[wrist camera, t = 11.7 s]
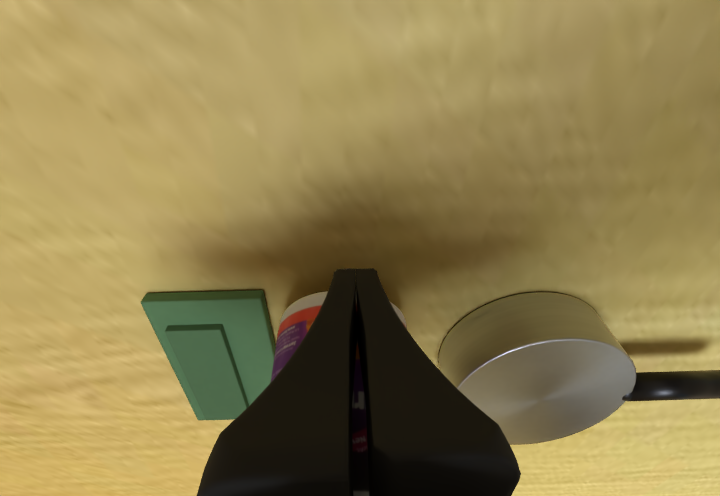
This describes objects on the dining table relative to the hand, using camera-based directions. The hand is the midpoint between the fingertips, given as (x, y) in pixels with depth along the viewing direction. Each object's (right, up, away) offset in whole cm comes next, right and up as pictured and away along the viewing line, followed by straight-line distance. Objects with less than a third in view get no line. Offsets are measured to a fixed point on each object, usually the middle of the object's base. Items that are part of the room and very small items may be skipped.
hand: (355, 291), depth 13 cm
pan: (+11, -4, +6) cm, 13 cm away
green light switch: (-6, -4, +6) cm, 9 cm away
